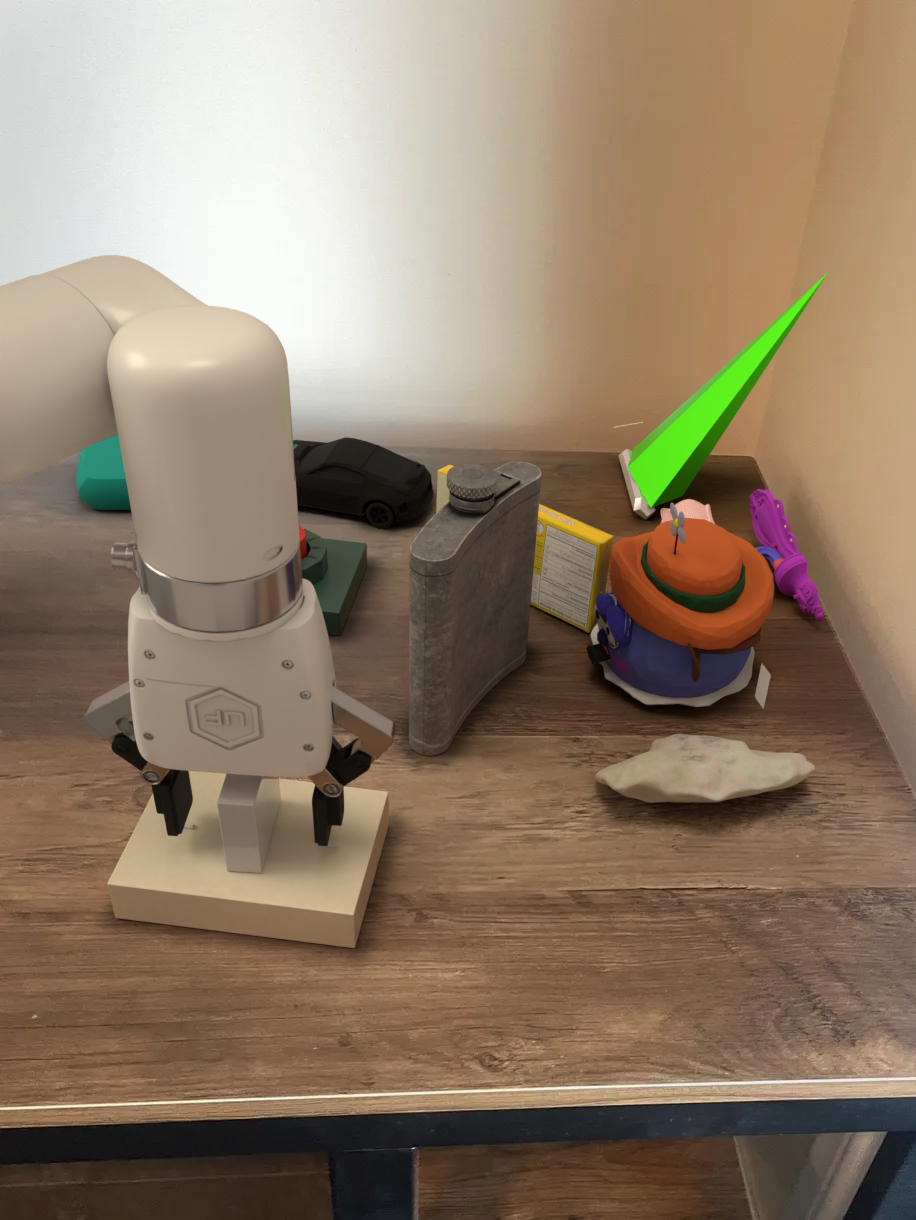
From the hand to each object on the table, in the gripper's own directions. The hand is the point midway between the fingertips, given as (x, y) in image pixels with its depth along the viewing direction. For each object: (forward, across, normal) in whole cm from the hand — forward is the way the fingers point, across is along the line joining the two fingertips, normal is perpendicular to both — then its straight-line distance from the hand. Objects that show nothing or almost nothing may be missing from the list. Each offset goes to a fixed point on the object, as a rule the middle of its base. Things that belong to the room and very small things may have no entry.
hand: (253, 822), depth 68 cm
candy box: (+4, +14, +32) cm, 35 cm away
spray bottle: (+2, -18, +39) cm, 43 cm away
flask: (+4, +11, +18) cm, 22 cm away
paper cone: (-17, +40, +51) cm, 67 cm away
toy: (+4, +26, +24) cm, 36 cm away
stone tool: (+2, +21, +8) cm, 22 cm away
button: (0, -4, +29) cm, 30 cm away
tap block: (+4, 0, 0) cm, 4 cm away
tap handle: (+1, 0, 0) cm, 1 cm away
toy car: (+4, -2, +44) cm, 45 cm away
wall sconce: (+4, +36, +24) cm, 43 cm away
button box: (+4, -4, +29) cm, 30 cm away
